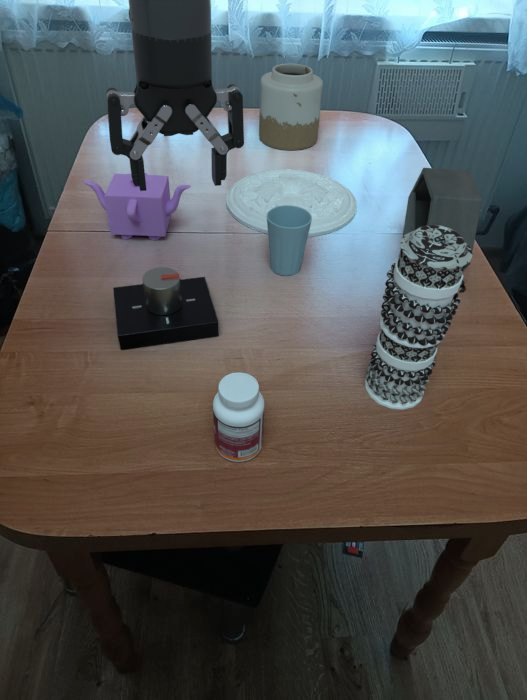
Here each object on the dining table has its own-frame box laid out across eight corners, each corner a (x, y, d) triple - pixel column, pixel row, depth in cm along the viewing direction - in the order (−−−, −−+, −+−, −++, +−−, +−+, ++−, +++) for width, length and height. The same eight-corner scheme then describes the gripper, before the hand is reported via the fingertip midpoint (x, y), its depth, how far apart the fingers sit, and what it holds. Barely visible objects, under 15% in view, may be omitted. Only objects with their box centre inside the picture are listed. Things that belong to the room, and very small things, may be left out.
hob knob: (146, 316, 82) (142, 288, 79) (145, 294, 86) (141, 266, 83) (183, 313, 83) (181, 285, 79) (180, 291, 87) (178, 264, 83)
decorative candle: (382, 355, 82) (420, 207, 65) (437, 385, 78) (494, 234, 61) (349, 389, 77) (382, 237, 60) (407, 422, 73) (460, 269, 56)
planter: (401, 210, 106) (432, 147, 86) (440, 213, 105) (481, 151, 85) (399, 292, 102) (432, 246, 82) (440, 295, 102) (483, 250, 81)
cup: (256, 262, 99) (258, 211, 92) (290, 251, 102) (294, 201, 95) (279, 284, 95) (283, 232, 87) (314, 271, 98) (320, 220, 91)
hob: (120, 350, 81) (117, 334, 79) (115, 301, 89) (112, 286, 87) (218, 336, 84) (218, 321, 82) (205, 290, 92) (204, 275, 90)
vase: (257, 149, 135) (259, 77, 124) (260, 125, 147) (262, 58, 135) (318, 152, 135) (325, 81, 124) (316, 128, 147) (323, 61, 135)
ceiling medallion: (224, 236, 105) (224, 222, 103) (227, 172, 126) (227, 158, 123) (366, 238, 107) (369, 224, 105) (346, 174, 127) (348, 161, 125)
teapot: (125, 258, 99) (116, 203, 91) (91, 227, 106) (80, 174, 98) (194, 231, 106) (191, 179, 99) (157, 204, 113) (152, 154, 106)
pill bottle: (227, 418, 72) (227, 360, 65) (270, 434, 71) (274, 376, 63) (205, 453, 68) (202, 395, 60) (250, 471, 66) (252, 413, 59)
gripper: (95, 35, 47) (119, 206, 58) (254, 34, 50) (248, 195, 61) (91, 15, 52) (114, 175, 63) (235, 15, 55) (233, 167, 66)
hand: (180, 185), depth 62 cm, fingers open, 8 cm apart
